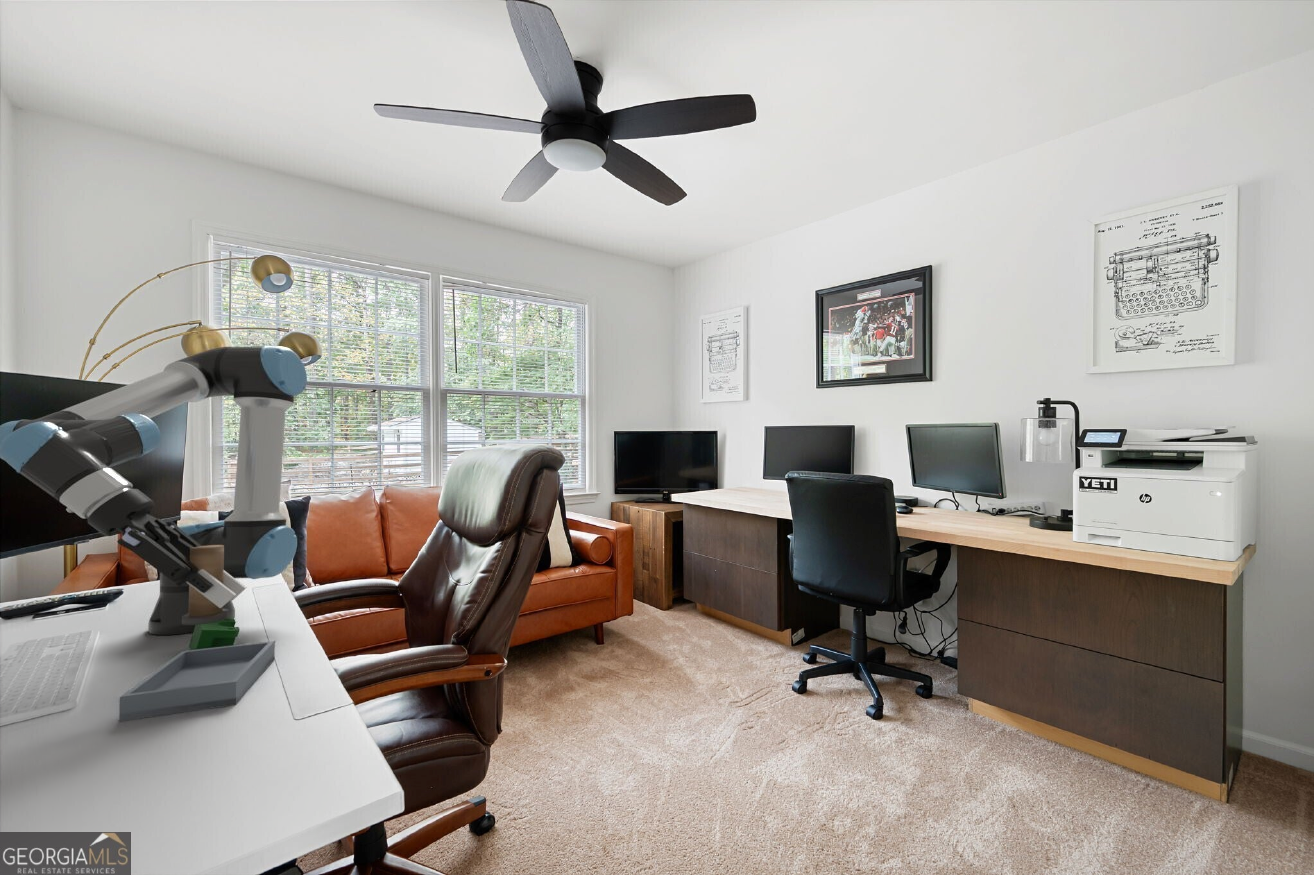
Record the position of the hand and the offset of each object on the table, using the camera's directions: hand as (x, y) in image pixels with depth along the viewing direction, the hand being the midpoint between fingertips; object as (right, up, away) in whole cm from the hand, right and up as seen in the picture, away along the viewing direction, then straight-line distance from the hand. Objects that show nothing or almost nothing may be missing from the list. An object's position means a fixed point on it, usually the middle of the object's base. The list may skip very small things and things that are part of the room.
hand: (233, 597), depth 92 cm
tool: (-4, -3, -2) cm, 5 cm away
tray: (-3, -14, -2) cm, 15 cm away
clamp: (-16, -15, +16) cm, 27 cm away
